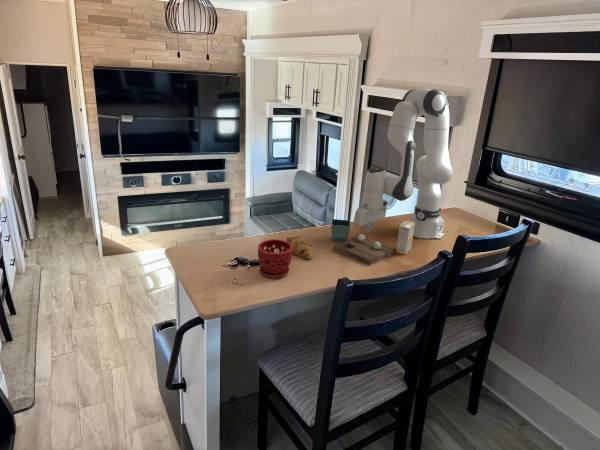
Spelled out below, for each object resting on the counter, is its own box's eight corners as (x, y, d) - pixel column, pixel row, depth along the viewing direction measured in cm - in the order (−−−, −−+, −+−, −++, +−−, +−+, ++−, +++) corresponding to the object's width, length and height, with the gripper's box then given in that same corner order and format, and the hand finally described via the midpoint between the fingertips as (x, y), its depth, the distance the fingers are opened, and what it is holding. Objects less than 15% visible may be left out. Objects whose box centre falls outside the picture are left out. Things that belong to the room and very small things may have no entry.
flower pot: (348, 237, 201) (350, 220, 198) (348, 244, 193) (350, 226, 190) (330, 236, 202) (331, 218, 199) (329, 242, 193) (331, 224, 190)
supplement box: (401, 246, 193) (404, 220, 188) (411, 249, 191) (415, 222, 186) (395, 252, 186) (399, 225, 182) (405, 255, 184) (409, 227, 179)
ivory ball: (360, 239, 193) (361, 232, 192) (366, 241, 191) (367, 234, 189) (355, 240, 190) (356, 234, 189) (361, 243, 188) (362, 236, 187)
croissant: (316, 267, 177) (325, 250, 176) (299, 261, 170) (308, 244, 170) (292, 248, 193) (299, 233, 193) (275, 242, 187) (283, 226, 186)
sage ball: (375, 246, 185) (376, 239, 184) (382, 249, 183) (382, 242, 182) (371, 248, 183) (372, 241, 181) (377, 251, 180) (378, 244, 179)
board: (357, 240, 197) (357, 235, 196) (393, 254, 184) (393, 249, 184) (332, 250, 185) (333, 245, 184) (369, 265, 172) (370, 260, 171)
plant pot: (250, 272, 161) (250, 244, 157) (276, 263, 170) (276, 236, 166) (272, 285, 153) (273, 255, 149) (298, 274, 161) (299, 246, 157)
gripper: (363, 208, 180) (359, 238, 184) (390, 201, 193) (385, 228, 198) (352, 204, 184) (348, 233, 188) (378, 197, 198) (375, 225, 202)
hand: (368, 231), depth 193 cm, fingers closed
